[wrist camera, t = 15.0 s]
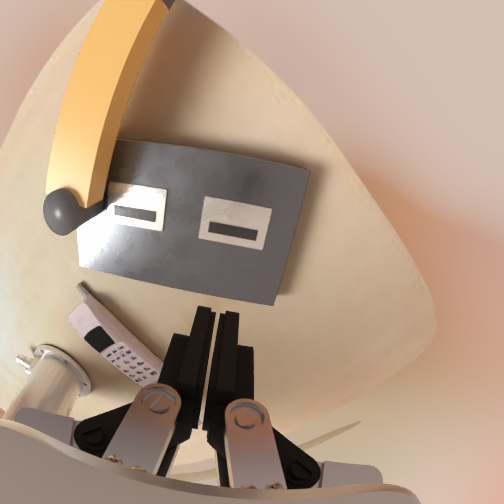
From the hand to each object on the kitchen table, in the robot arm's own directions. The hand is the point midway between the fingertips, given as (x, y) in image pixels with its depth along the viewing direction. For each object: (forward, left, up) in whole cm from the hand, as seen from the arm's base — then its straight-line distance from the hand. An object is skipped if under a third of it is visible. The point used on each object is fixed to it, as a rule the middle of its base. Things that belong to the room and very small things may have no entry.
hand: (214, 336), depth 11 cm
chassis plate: (-6, -1, -17) cm, 18 cm away
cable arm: (-13, +9, -15) cm, 22 cm away
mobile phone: (-11, -22, -18) cm, 30 cm away
